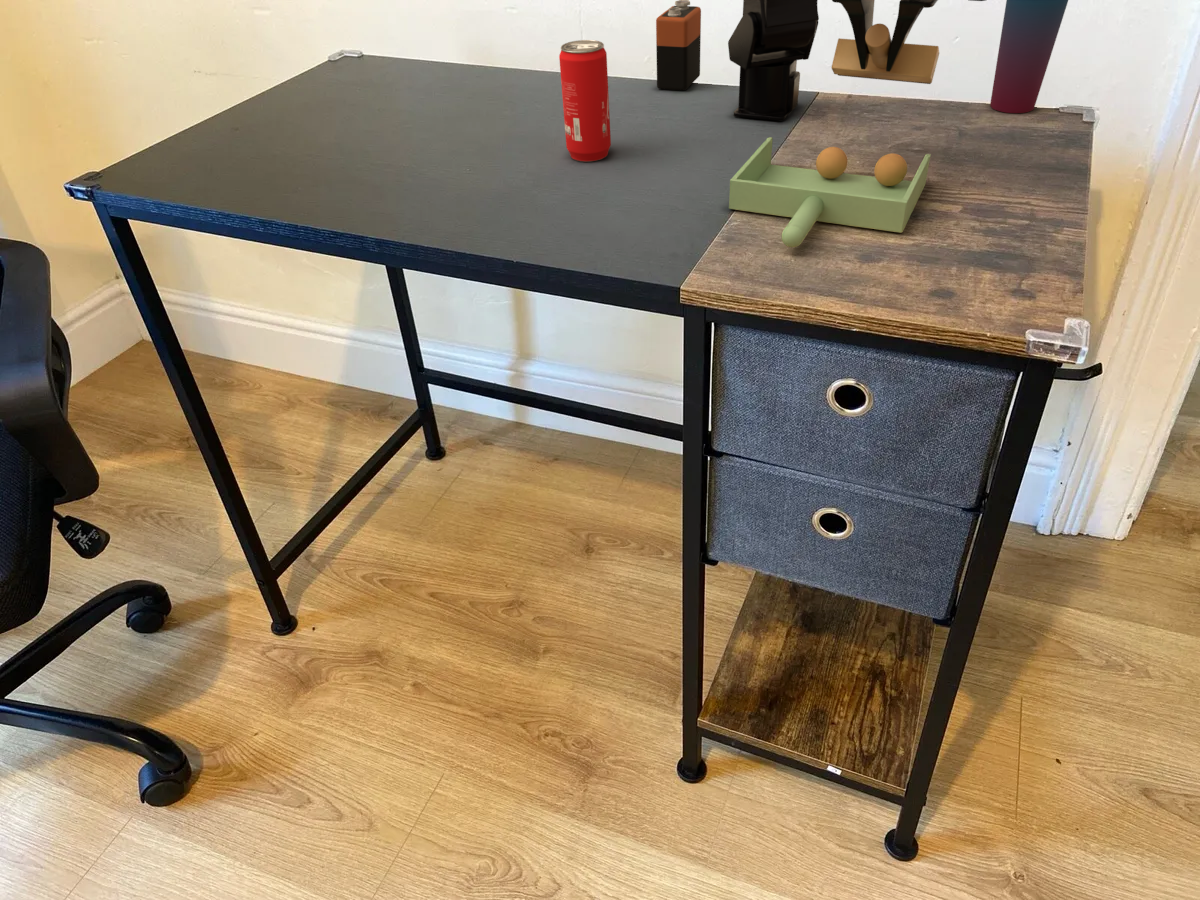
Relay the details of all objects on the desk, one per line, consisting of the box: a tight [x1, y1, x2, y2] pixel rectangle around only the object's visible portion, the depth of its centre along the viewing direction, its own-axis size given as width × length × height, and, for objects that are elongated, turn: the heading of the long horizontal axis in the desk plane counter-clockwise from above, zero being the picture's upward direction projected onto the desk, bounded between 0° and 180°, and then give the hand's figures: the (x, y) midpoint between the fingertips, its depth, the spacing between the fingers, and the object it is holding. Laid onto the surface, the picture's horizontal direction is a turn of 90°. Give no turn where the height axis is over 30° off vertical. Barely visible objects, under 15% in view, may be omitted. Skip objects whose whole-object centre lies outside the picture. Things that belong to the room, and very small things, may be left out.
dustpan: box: [728, 136, 931, 249], centre depth 86 cm, size 20×17×3 cm
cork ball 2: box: [873, 153, 908, 186], centre depth 90 cm, size 3×3×3 cm
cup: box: [989, 0, 1069, 114], centre depth 102 cm, size 7×7×15 cm
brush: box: [831, 23, 940, 85], centre depth 87 cm, size 10×3×9 cm
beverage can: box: [558, 39, 612, 163], centre depth 99 cm, size 5×5×12 cm
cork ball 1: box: [815, 146, 848, 179], centre depth 92 cm, size 3×3×3 cm
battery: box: [655, 0, 702, 91], centre depth 119 cm, size 4×7×10 cm, turn 158°
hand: (876, 69), depth 87 cm, fingers closed on brush, 2 cm apart
